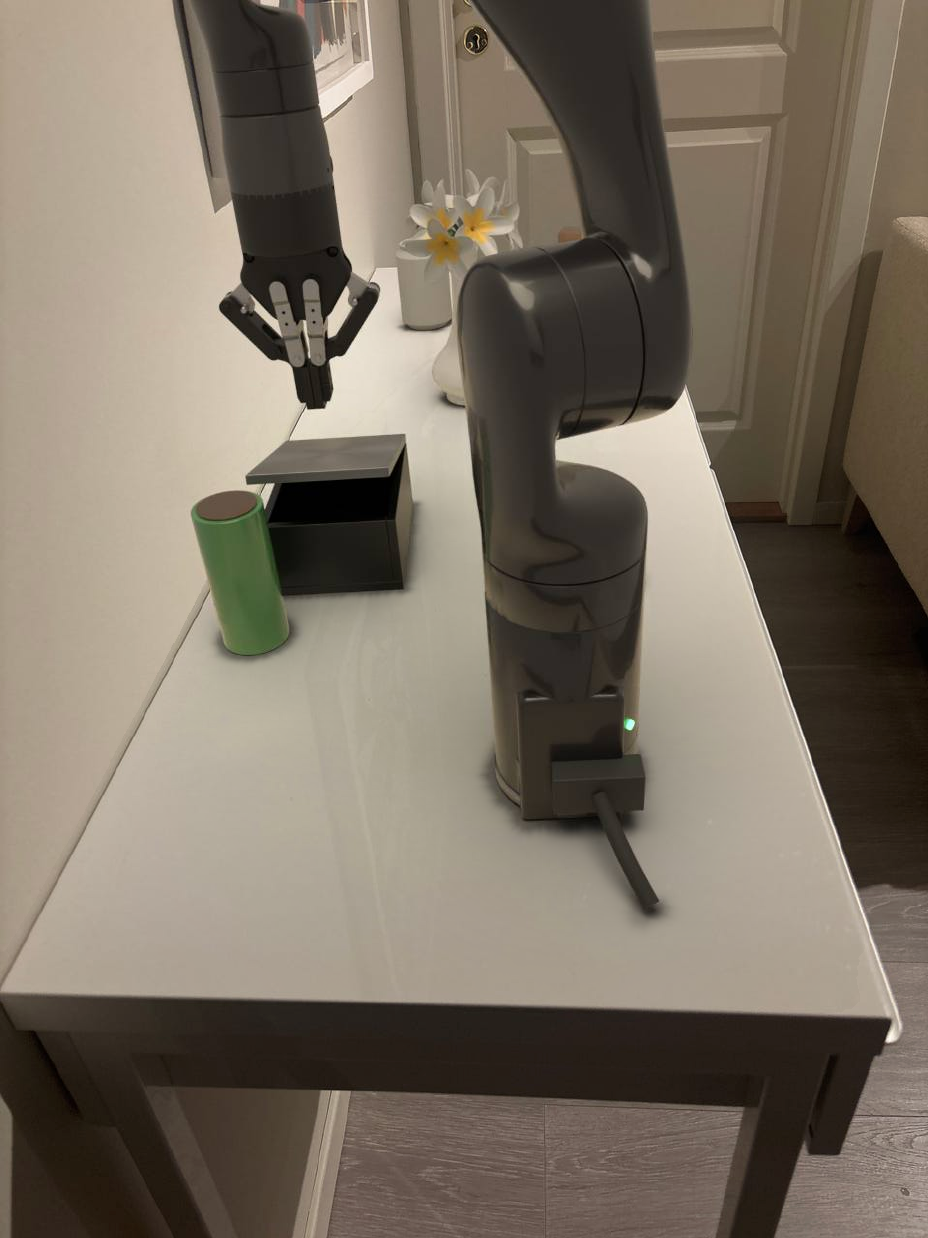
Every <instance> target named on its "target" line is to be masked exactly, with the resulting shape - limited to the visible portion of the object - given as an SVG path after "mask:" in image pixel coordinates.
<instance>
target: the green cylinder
mask: <svg viewBox="0 0 928 1238" xmlns="http://www.w3.org/2000/svg"><path fill="white" fill-rule="evenodd" d="M190 517H191V521H192V525H193V529H194V533H195V536H196V541H197V545H198V548H199V549H198V550H199V552H200V556H201V560H202V564H203V568H204V572H205V575H206V579H207V583H208V586H209V591H210V593H211V599H212V602H213V606H214V610H215V614H216V618H217V622H218V626H219V630H220V633H221V637H222V641H223V644H224V646H225V648H226V649H227V650H228V651H230V652H231V653H234V654H237V655H240V656H257V655H261V654H262V655H263V654H265V653H268V652H270V651H273V650H275V649H277V648H278V647H280V646H282V644H284V643H285V642H286V641H287V639H288V638H289V635H290V631H291V630H290V629H291V628H290V624H289V620H288V615H287V610H286V605H285V600H284V595H282V590H281V585H280V581H279V576H278V571H277V566H276V562H275V557H274V552H273V547H272V542H271V538H270V533H269V528H268V523H267V518H266V514H265V505H264V500H263V498H262V497H261V496H260V495H259V494H258V493H255V492H253V491H250V490H242V489H241V490H239V489H237V490H226V491H221V492H217V493H213V494H211V495H208V496H206V497H204V498H202V499H200V500H199V501H197V502H196V503H195V504H194V505H193V506H192V508H191V509H190Z"/></svg>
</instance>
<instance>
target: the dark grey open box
mask: <svg viewBox="0 0 928 1238" xmlns="http://www.w3.org/2000/svg"><path fill="white" fill-rule="evenodd" d="M409 462H410V461H409V453H408V445H407V442H406V443H405V445H404V447H403V449H402V451H401V453H400V455H399V457H398V459H397V461H396V463H395V466H394V468H393V470H392V472H391V474H390V476H389V477H375V478H358V479H341V480H323V481H306V482H289V483H273V487H272V488H271V492H270V494H269V497H268V500H267V502H266V505H265V506H264V509H265V514H266V518H267V523H268V528H269V533H270V538H271V542H272V547H273V552H274V557H275V562H276V566H277V571H278V576H279V581H280V585H281V590H282V595H283V596H292V595H293V596H294V595H307V594H308V595H310V594H312V595H313V594H328V593H329V594H331V593H348V592H349V593H351V592H365V591H366V592H369V591H387V590H388V591H389V590H403V589H405V582H406V573H407V563H408V554H409V547H410V546H409V545H410V537H411V535H410V534H411V528H412V518H413V511H414V510H413V509H414V500H413V491H412V490H413V489H412V483H411V482H412V481H411V473H410V463H409Z"/></svg>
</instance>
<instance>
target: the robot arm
mask: <svg viewBox="0 0 928 1238" xmlns="http://www.w3.org/2000/svg"><path fill="white" fill-rule="evenodd" d="M467 2H468V4H469V5H470V6H471V8H472V10H473V11H474V12H475V15H476V16H477V18H478V19H479V20H480V22H481V23H482V25H483V26H484V27H485V29H486V30H487V32H488V33H489V34H490V35H491V36H490V37H492V38H493V40H494V41H495V43H496V44H497V46H498V47H499V48H500V49H501V51H502V52H503V54H504V55H505V57H506V58H507V59H508V60H509V62H510V63H511V65H512V66H513V67H514V69H515V70H516V71H517V73H518V75H520V76H521V79H522V80H523V81H524V83H525V84H526V85H527V87H528V88H529V90H530V92H531V93H532V94H533V96H534V97H535V99H536V101H537V102H538V104H539V106H540V107H541V110H542V111H543V113H544V114H545V116H546V118H547V120H548V121H549V124H550V126H551V129H552V130H553V133H554V135H555V137H556V139H557V141H558V144H559V147H560V149H561V152H562V154H563V158H564V161H565V165H566V168H567V172H568V175H569V179H570V184H571V188H572V192H573V196H574V200H575V204H576V205H575V206H576V210H577V211H576V212H577V217H578V223H579V227H580V230H581V239H578V240H573V241H567V242H561V243H558V242H555V243H549V244H545V245H536V246H532V247H531V246H530V247H525V248H519V249H514V250H513V249H512V250H507V251H502V252H498V253H497V254H493V255H489V256H483V257H480V258H479V259H477V261H476V262H474V263H473V264H472V265H471V266H470V267H469V269H468V270H467V271H466V273H465V276H464V278H463V280H462V282H461V286H460V290H459V294H458V302H457V312H456V323H457V345H458V354H459V364H460V372H461V379H462V386H463V394H464V401H465V405H464V408H465V414H466V415H465V416H466V424H467V430H468V432H467V433H468V441H469V451H470V462H471V473H472V474H471V475H472V481H473V489H474V496H475V502H476V508H477V513H478V519H479V525H480V536H481V550H482V551H481V554H482V569H483V570H482V571H483V582H484V584H483V585H484V586H483V587H484V601H485V602H484V603H485V604H484V605H485V618H486V619H485V620H486V632H487V633H486V635H487V649H488V663H489V676H490V678H489V679H490V694H491V707H492V709H491V711H492V721H493V722H492V724H493V734H494V748H495V751H494V752H495V753H494V772H495V777H496V780H497V783H498V785H499V787H500V789H501V790H502V791H503V793H504V794H505V795H506V796H507V797H508V798H509V799H510V800H511V801H512V802H514V803H516V804H517V805H518V806H519V807H520V810H521V817H522V819H524V820H540V819H541V820H545V819H576V818H589V817H590V818H591V817H598V818H599V819H598V820H599V821H600V823H601V826H602V829H603V830H604V833H605V836H606V838H607V840H608V842H609V844H610V847H611V849H612V851H613V853H614V855H615V858H616V859H617V862H618V864H619V865H620V868H621V870H622V871H623V873H624V876H625V877H626V880H627V881H628V884H629V885H630V887H631V889H632V891H633V892H634V894H635V896H636V898H637V900H638V902H639V903H640V905H641V907H642V910H647V909H648V908H650V907H653V906H654V905H656V904H658V903H659V902H660V900H659V897H658V896H657V894H656V892H655V890H654V888H653V886H652V885H651V883H650V881H649V879H648V877H647V875H646V874H645V872H644V870H643V869H642V866H641V864H640V862H639V860H638V859H637V856H636V855H635V853H634V850H633V848H632V847H631V844H630V842H629V840H628V837H627V836H626V833H625V831H624V829H623V827H622V825H621V821H620V819H619V818H618V816H620V815H621V814H622V812H637V811H639V812H641V811H644V810H645V796H646V794H645V793H646V792H645V791H646V772H645V767H644V763H643V758H642V754H641V753H638V746H639V745H638V742H639V723H640V722H639V718H640V717H639V716H640V697H641V695H640V694H641V677H642V676H641V674H642V672H641V671H642V653H643V630H644V611H645V610H644V609H645V592H646V574H647V573H646V572H647V552H648V551H647V550H648V533H649V532H648V530H649V529H648V528H649V512H648V505H647V502H646V499H645V497H644V494H643V493H642V492H641V490H640V489H639V488H638V487H637V486H636V485H635V484H634V483H633V482H632V481H630V480H628V479H627V478H626V477H623V476H621V475H620V474H617V473H616V472H613V471H611V470H608V469H605V468H602V467H598V466H596V465H591V464H585V463H579V462H571V461H565V460H559V459H557V455H556V445H557V441H559V440H563V439H569V438H573V437H577V436H582V435H586V434H590V433H595V432H600V431H604V430H608V429H612V428H616V427H622V426H626V425H629V424H634V423H639V422H643V421H646V420H649V419H653V418H655V417H658V416H660V415H663V414H666V413H667V412H668V411H670V410H671V409H672V408H674V406H675V405H676V404H677V402H678V401H679V400H680V398H681V396H682V395H683V393H684V391H685V388H686V385H687V382H688V379H689V375H690V370H691V364H692V355H693V344H694V343H693V342H694V341H693V339H694V337H693V336H694V329H693V328H694V327H693V311H692V301H691V292H690V291H691V290H690V282H689V273H688V267H687V262H686V261H687V260H686V255H685V247H684V241H683V235H682V229H681V228H682V227H681V222H680V216H679V209H678V204H677V203H678V202H677V198H676V191H675V186H674V179H673V173H672V167H671V161H670V160H671V159H670V153H669V148H668V142H667V135H666V128H665V122H664V115H663V114H664V113H663V108H662V103H661V95H660V94H661V93H660V87H659V80H658V79H659V78H658V71H657V61H656V52H655V51H656V50H655V42H654V29H653V21H652V9H651V0H467ZM188 3H189V5H190V8H191V11H192V13H193V15H194V18H195V21H196V23H197V26H198V28H199V31H200V34H201V37H202V40H203V43H204V46H205V49H206V53H207V57H208V62H209V67H210V71H211V77H212V84H213V89H214V94H215V99H216V104H217V109H218V114H219V121H220V131H221V147H222V154H223V160H224V165H225V170H226V177H227V181H228V186H229V192H230V196H231V203H232V207H233V212H234V219H235V224H236V228H237V234H238V239H239V244H240V249H241V254H242V264H241V269H240V273H239V280H240V282H239V284H238V285H237V286H236V287H235V288H234V289H233V290H231V291H228V292H227V293H226V294H225V296H224V297H223V298H222V300H221V301H220V302H219V304H218V310H219V312H220V313H221V314H222V315H223V316H224V317H225V318H226V319H227V320H228V321H229V322H230V323H231V324H232V325H233V326H234V327H235V328H236V329H237V330H238V331H239V332H240V333H241V334H242V335H243V336H244V337H246V338H247V339H248V341H250V342H251V343H252V344H253V345H254V346H255V347H256V348H257V349H258V350H259V351H260V352H261V353H262V354H263V355H264V356H265V357H266V358H267V359H268V360H270V361H274V362H275V361H282V362H285V363H287V364H288V365H289V366H290V367H291V369H292V375H293V380H294V386H295V393H296V397H297V399H298V402H299V403H300V404H305V406H306V410H307V411H312V410H323V409H324V410H326V408H327V404H328V402H331V401H332V397H333V393H334V382H333V375H332V370H331V364H330V363H331V362H330V361H331V359H334V358H336V357H343V356H345V355H346V354H347V352H348V351H349V349H350V348H351V345H352V344H353V342H354V340H355V339H356V338H357V336H358V334H359V332H360V331H361V329H362V328H363V326H364V324H365V323H366V321H367V320H368V319H369V317H370V315H371V313H372V312H373V310H374V309H375V307H376V305H377V303H378V301H379V298H380V294H381V286H380V285H379V284H378V282H375V281H370V282H368V281H366V280H365V279H364V278H362V277H361V276H359V275H358V274H356V273H355V272H353V265H352V262H351V261H350V259H349V257H348V256H347V254H346V252H345V251H344V247H343V241H342V234H341V226H340V219H339V212H338V203H337V196H336V189H335V181H334V163H333V158H332V156H331V152H330V145H329V144H330V143H329V138H328V134H327V131H326V128H325V127H326V126H325V124H324V123H325V122H324V119H323V115H322V111H321V106H320V105H319V104H320V97H319V88H318V83H317V82H318V81H317V76H316V68H315V62H314V54H313V53H314V52H313V47H312V40H311V34H310V31H309V28H308V24H307V22H306V21H305V18H304V17H303V16H302V15H301V14H300V13H299V12H297V11H294V10H292V9H289V8H287V7H286V8H285V7H280V6H274V5H268V4H262V3H260V2H256V1H255V0H188ZM346 287H347V289H348V291H349V292H348V293H349V294H348V297H347V303H348V305H349V306H350V307H351V309H350V311H349V313H348V314H347V316H346V318H345V319H344V321H343V323H342V324H341V326H340V328H339V329H338V331H337V333H336V334H334V335H333V336H330V337H329V316H330V315H331V314H332V312H333V311H334V309H335V307H336V305H337V304H338V302H339V300H340V298H341V297H342V295H343V293H344V291H345V289H346ZM253 298H254V299H253ZM255 300H256V301H257V303H258V304H259V305H260V306H261V307H262V308H263V309H264V310H265V311H266V313H268V314H269V316H271V317H272V318H273V319H274V320H277V322H278V327H279V331H280V334H281V335H280V334H279V333H278V332H277V331H276V330H275V329H274V327H272V326H271V325H270V324H269V323H268V322H267V321H266V320H265V319H264V318H263V317H262V316H261V315H260V314H259V313H258V312H257V311H256V310H255V309H256V303H255ZM304 322H305V323H306V325H305V324H304ZM305 326H306V333H305ZM306 334H307V335H306ZM306 336H307V337H306ZM307 338H308V341H307ZM309 356H310V357H309Z"/></svg>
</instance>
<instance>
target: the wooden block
mask: <svg viewBox="0 0 928 1238" xmlns="http://www.w3.org/2000/svg"><path fill="white" fill-rule="evenodd" d="M578 239H581V230H580V226H564V227H562V228H561V229H560V230H559V231H558V233H557V243H561V242H567V241H573V240H578Z"/></svg>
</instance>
